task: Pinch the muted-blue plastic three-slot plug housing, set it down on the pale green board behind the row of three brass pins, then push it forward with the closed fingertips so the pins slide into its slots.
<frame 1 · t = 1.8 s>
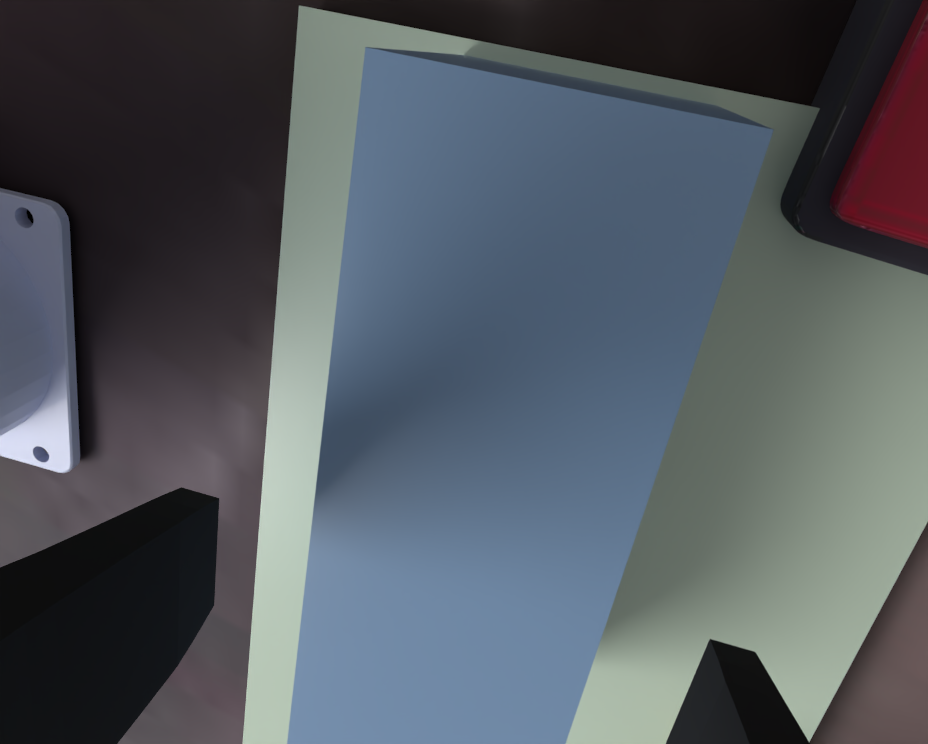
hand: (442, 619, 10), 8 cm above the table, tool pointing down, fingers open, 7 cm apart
board: (525, 628, 21), on the table
plug housing: (512, 405, 17), point 1 cm above the table, touching board
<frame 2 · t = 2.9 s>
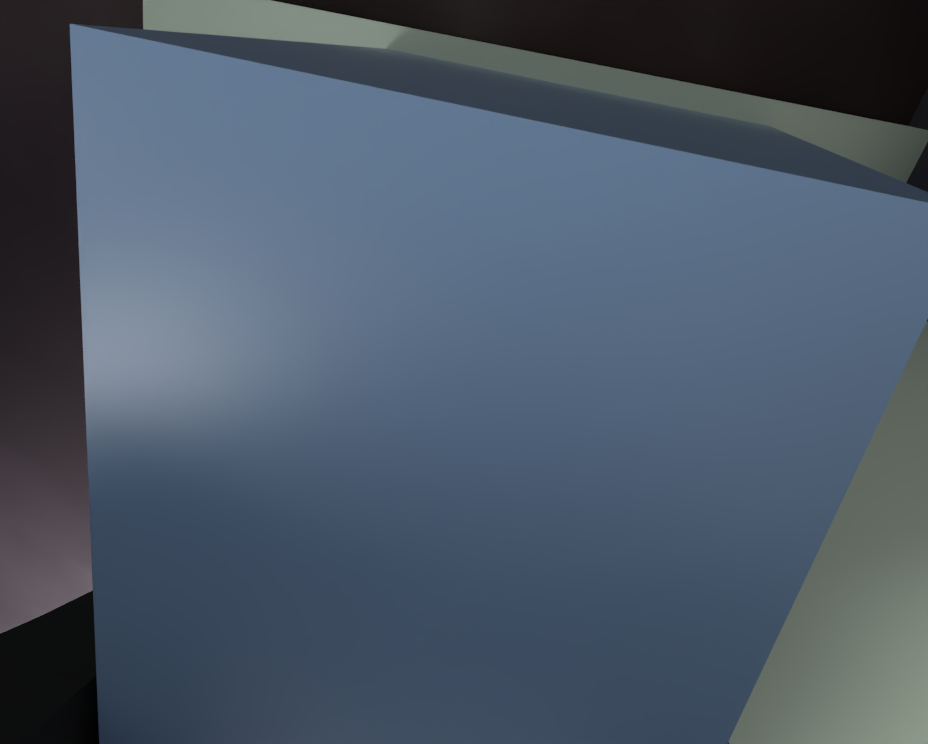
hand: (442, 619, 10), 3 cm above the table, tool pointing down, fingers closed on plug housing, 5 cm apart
plug housing: (470, 538, 12), point 1 cm above the table, touching board, gripper
when the fingers open (4 cm above the table, at t = 6.2 s): plug housing stays where it is, resting on board.
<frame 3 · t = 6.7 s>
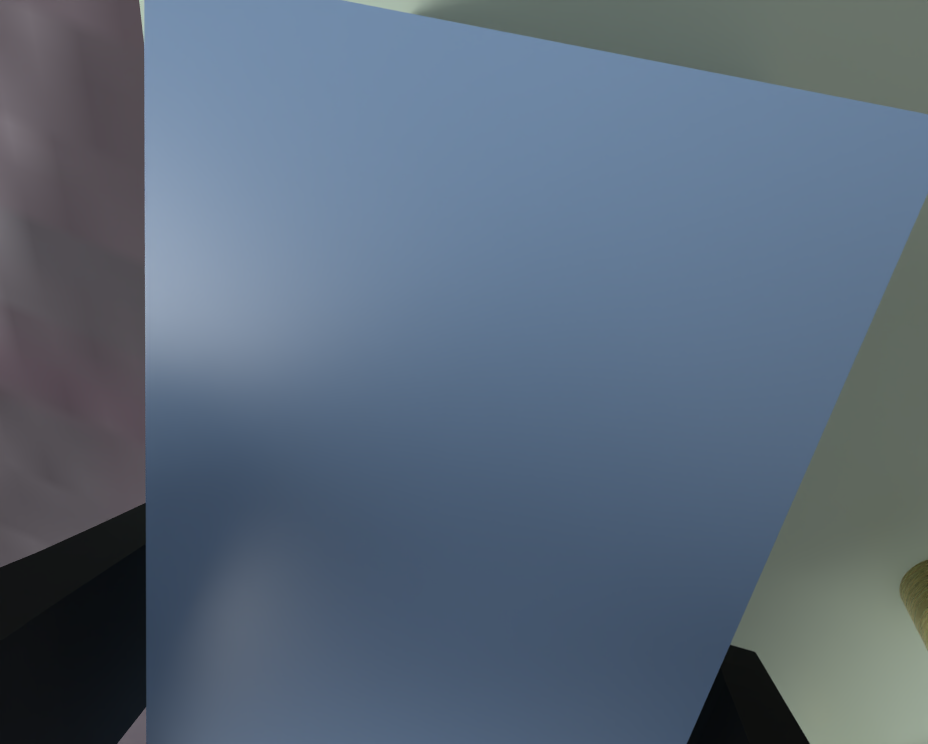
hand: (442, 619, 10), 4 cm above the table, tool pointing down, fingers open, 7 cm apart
board: (664, 116, 11), on the table
header pins: (919, 551, 13), resting on board
plug housing: (483, 497, 13), point 1 cm above the table, touching board
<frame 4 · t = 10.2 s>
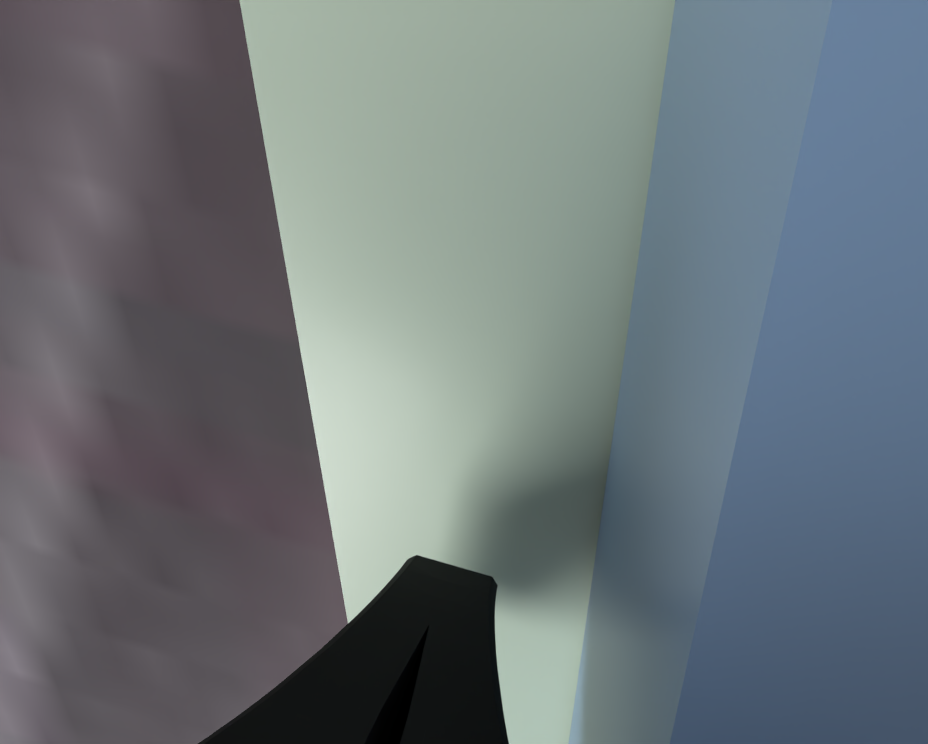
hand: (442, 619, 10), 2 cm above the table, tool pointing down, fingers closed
board: (906, 70, 9), on the table
plug housing: (780, 564, 10), point 1 cm above the table, touching board, gripper
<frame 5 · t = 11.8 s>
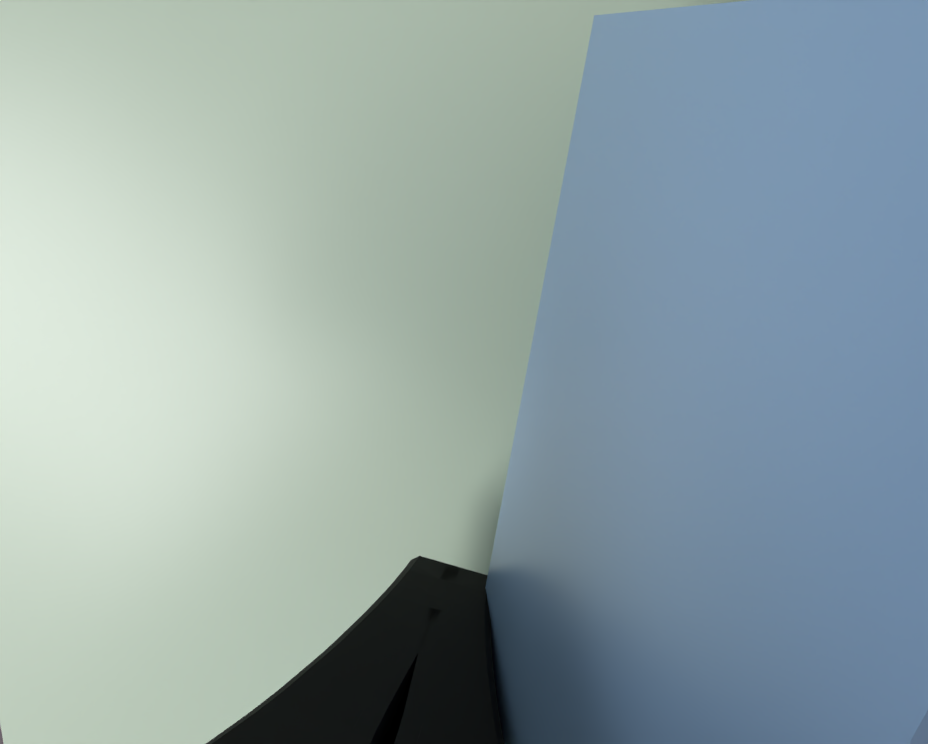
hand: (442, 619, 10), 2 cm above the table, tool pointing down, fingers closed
board: (455, 105, 10), on the table
plug housing: (660, 622, 10), point 2 cm above the table, tilted 17°, touching gripper, header pins
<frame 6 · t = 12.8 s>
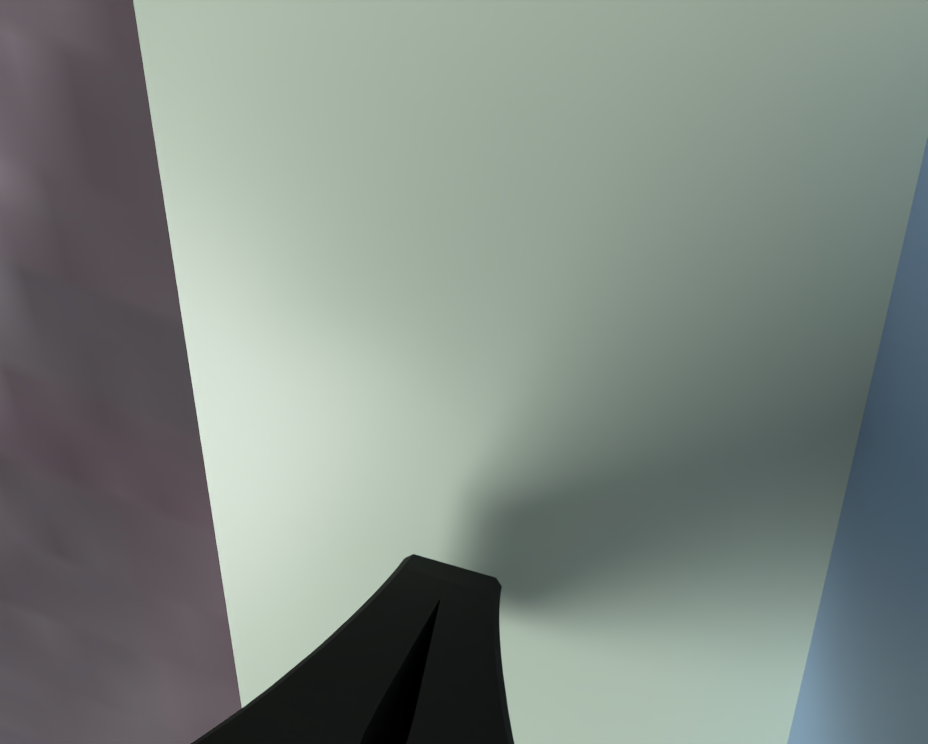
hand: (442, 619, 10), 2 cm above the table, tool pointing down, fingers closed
board: (764, 119, 9), on the table
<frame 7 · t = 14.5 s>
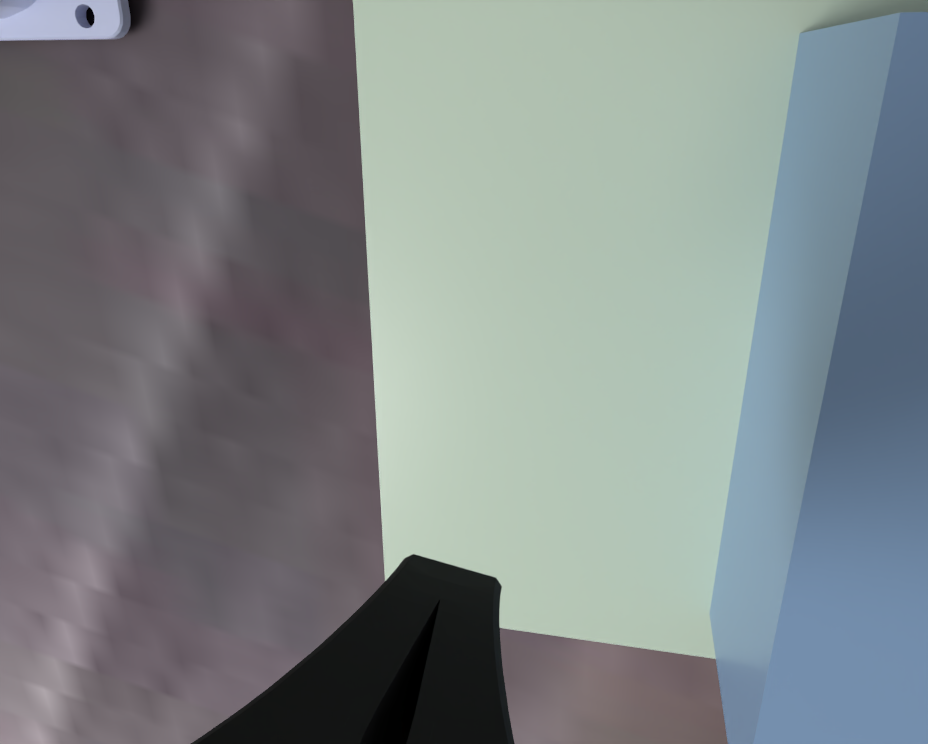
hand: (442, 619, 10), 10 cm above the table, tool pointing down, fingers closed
board: (708, 94, 16), on the table
plug housing: (862, 378, 17), point 1 cm above the table, touching board
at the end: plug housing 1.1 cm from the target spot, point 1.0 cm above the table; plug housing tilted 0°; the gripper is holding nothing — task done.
